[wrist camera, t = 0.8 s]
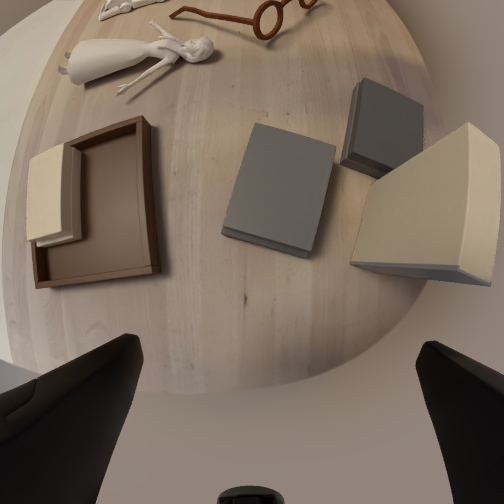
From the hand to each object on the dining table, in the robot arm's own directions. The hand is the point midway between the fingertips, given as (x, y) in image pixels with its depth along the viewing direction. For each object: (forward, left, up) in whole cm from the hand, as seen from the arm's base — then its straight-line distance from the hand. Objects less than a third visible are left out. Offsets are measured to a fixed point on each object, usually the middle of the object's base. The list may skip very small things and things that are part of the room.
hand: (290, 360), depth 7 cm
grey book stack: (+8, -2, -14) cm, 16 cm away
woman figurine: (+26, +10, -14) cm, 31 cm away
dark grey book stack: (+12, -12, -14) cm, 22 cm away
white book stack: (+11, +18, -13) cm, 25 cm away
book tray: (+10, +15, -14) cm, 22 cm away
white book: (+4, -10, -14) cm, 17 cm away
